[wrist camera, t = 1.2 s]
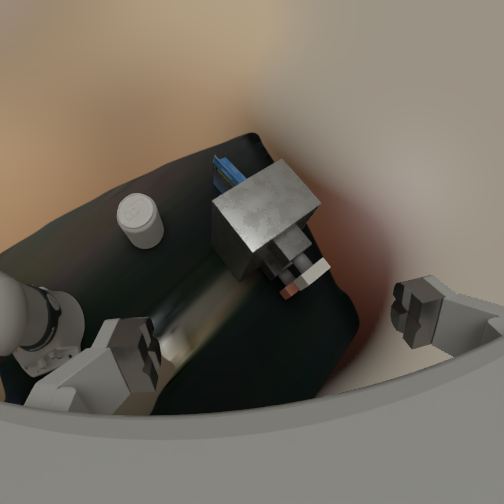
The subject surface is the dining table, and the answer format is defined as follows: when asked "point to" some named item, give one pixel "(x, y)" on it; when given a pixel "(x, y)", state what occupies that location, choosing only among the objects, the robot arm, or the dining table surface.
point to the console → (262, 222)
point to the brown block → (288, 284)
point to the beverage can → (140, 220)
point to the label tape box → (225, 175)
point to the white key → (308, 270)
